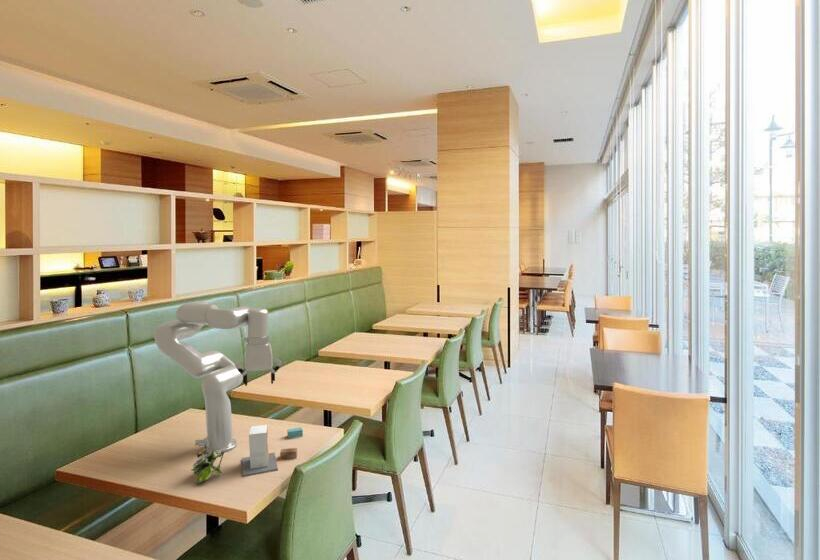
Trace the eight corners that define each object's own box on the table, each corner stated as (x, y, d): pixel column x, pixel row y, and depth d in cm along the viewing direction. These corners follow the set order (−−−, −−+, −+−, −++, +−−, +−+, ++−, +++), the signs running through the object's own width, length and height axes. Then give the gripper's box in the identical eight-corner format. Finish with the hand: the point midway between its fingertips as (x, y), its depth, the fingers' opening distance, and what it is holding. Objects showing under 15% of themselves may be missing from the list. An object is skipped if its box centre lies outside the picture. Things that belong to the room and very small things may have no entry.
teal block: (288, 439, 199) (288, 432, 199) (287, 436, 202) (287, 429, 202) (302, 436, 201) (302, 429, 201) (301, 434, 204) (301, 427, 204)
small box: (268, 466, 173) (266, 432, 172) (250, 469, 172) (248, 434, 171) (268, 456, 181) (267, 424, 180) (251, 459, 180) (250, 426, 178)
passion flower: (203, 488, 171) (209, 453, 177) (229, 485, 168) (234, 450, 174) (181, 484, 162) (189, 447, 168) (208, 481, 159) (215, 444, 165)
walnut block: (280, 460, 180) (280, 452, 180) (281, 456, 183) (281, 449, 183) (296, 458, 181) (296, 451, 181) (297, 455, 184) (297, 448, 184)
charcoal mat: (243, 476, 168) (243, 474, 168) (242, 459, 181) (242, 457, 181) (277, 470, 172) (277, 468, 172) (274, 453, 185) (274, 452, 185)
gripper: (233, 344, 175) (235, 388, 177) (282, 341, 180) (282, 384, 182) (235, 339, 182) (236, 382, 184) (281, 337, 187) (281, 379, 189)
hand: (259, 383), depth 183 cm, fingers open, 9 cm apart
